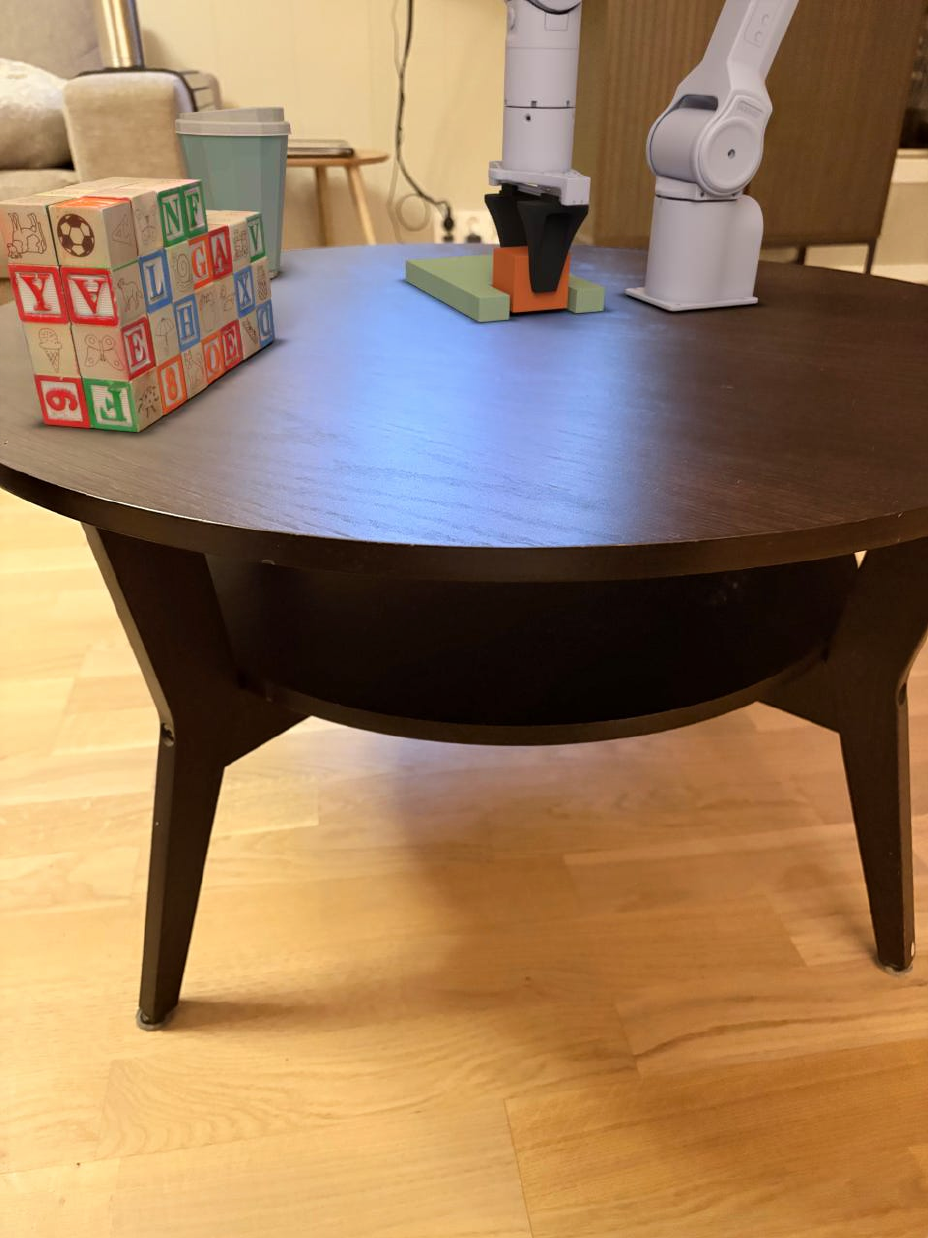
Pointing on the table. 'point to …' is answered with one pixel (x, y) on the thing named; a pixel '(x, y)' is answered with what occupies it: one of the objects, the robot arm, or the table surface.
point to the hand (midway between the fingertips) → (530, 285)
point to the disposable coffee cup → (240, 164)
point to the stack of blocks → (133, 296)
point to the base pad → (486, 287)
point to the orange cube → (525, 281)
